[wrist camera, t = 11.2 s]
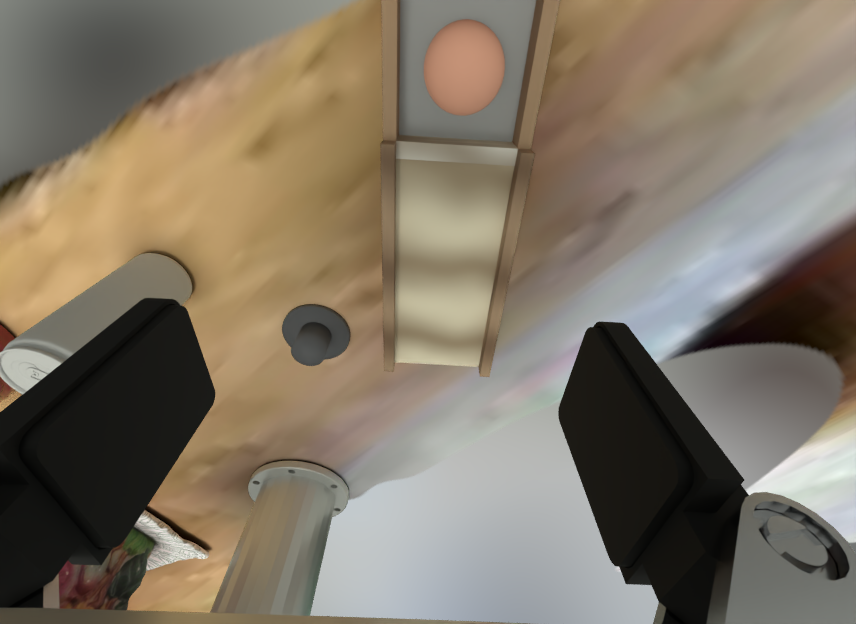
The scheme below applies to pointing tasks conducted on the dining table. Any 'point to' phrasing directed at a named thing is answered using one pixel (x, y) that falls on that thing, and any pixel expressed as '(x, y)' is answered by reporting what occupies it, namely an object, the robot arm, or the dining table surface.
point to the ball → (464, 67)
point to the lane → (448, 246)
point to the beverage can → (90, 317)
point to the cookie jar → (124, 567)
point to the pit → (523, 78)
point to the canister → (3, 337)
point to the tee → (315, 334)
